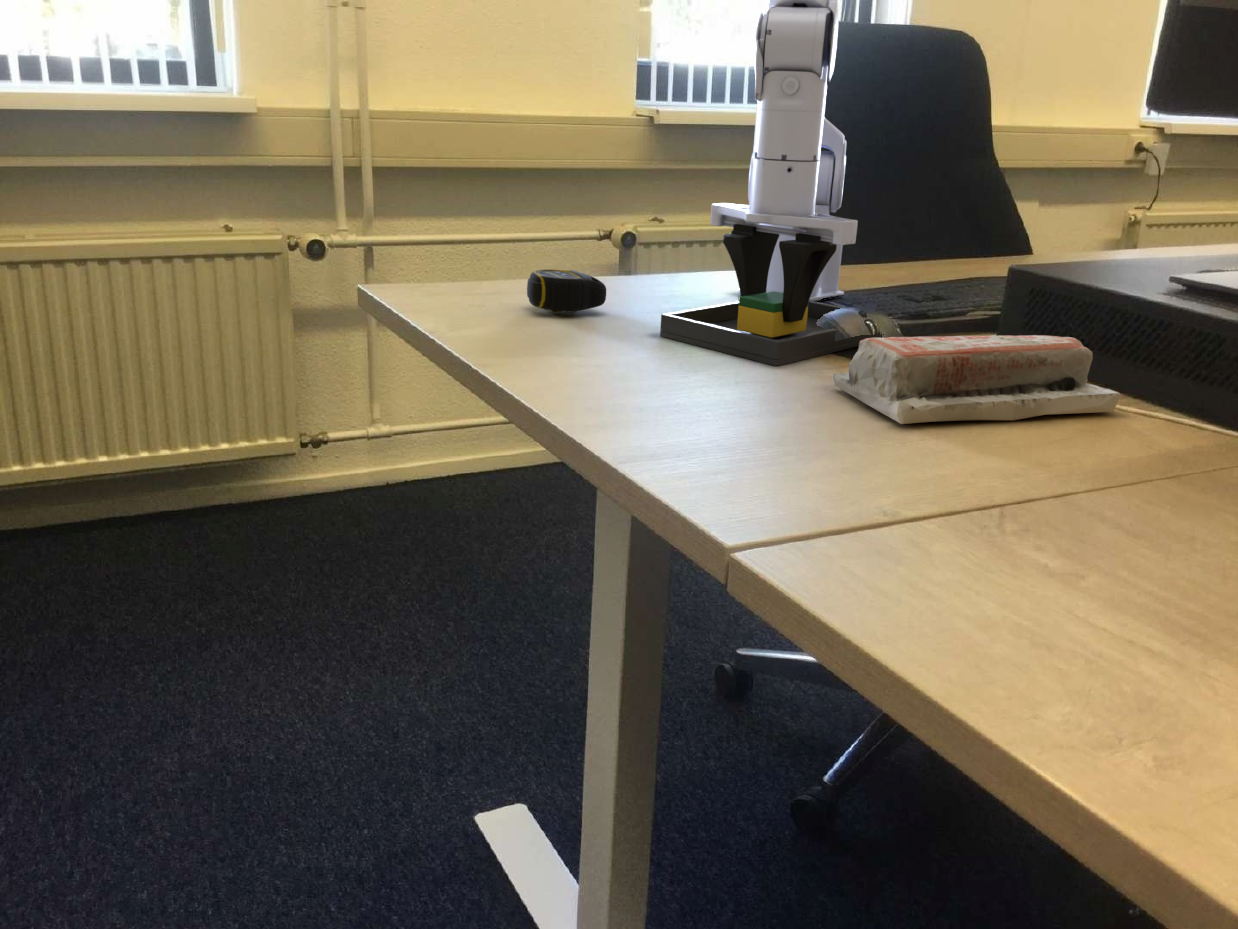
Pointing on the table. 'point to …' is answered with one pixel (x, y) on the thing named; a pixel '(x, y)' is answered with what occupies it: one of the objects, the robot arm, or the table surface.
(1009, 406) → the packaged product
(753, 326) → the sponge
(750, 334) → the tray
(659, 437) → the table surface
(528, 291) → the tape measure
